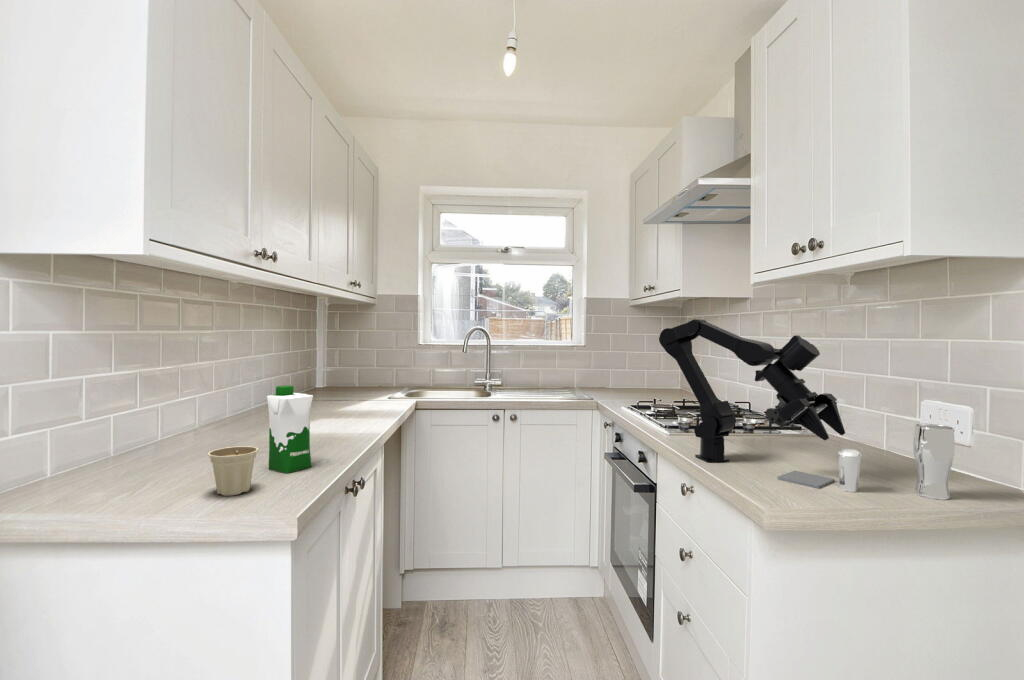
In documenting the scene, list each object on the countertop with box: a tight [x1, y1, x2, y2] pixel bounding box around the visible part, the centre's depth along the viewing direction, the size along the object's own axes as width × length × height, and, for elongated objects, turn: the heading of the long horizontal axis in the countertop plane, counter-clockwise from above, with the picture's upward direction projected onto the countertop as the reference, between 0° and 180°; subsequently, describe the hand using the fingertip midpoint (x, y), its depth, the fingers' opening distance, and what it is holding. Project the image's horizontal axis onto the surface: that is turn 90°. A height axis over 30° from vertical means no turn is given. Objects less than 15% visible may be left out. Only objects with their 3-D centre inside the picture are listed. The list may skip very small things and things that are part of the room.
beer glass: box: [913, 423, 956, 501], centre depth 115 cm, size 7×7×15 cm
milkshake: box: [837, 447, 864, 493], centre depth 118 cm, size 4×5×10 cm
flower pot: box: [207, 445, 259, 497], centre depth 113 cm, size 9×9×9 cm
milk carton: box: [266, 385, 314, 474], centre depth 131 cm, size 9×9×20 cm
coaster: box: [777, 469, 836, 489], centre depth 126 cm, size 9×9×1 cm
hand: (835, 436), depth 120 cm, fingers open, 9 cm apart
